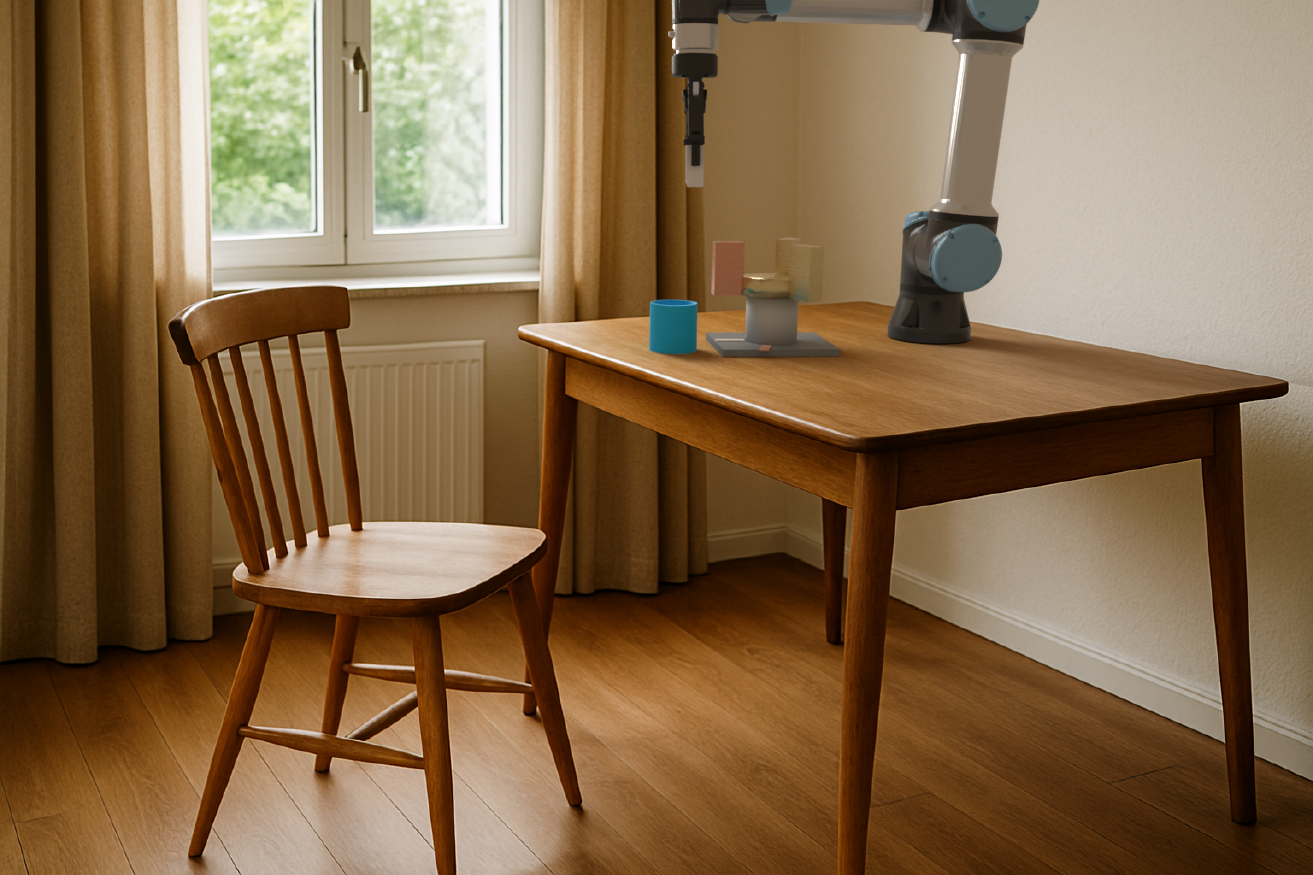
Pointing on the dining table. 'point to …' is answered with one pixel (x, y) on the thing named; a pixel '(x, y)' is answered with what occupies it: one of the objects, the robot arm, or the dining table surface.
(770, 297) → the three-blade desk fan
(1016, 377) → the dining table surface
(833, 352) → the post base
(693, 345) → the mug
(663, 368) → the dining table surface
